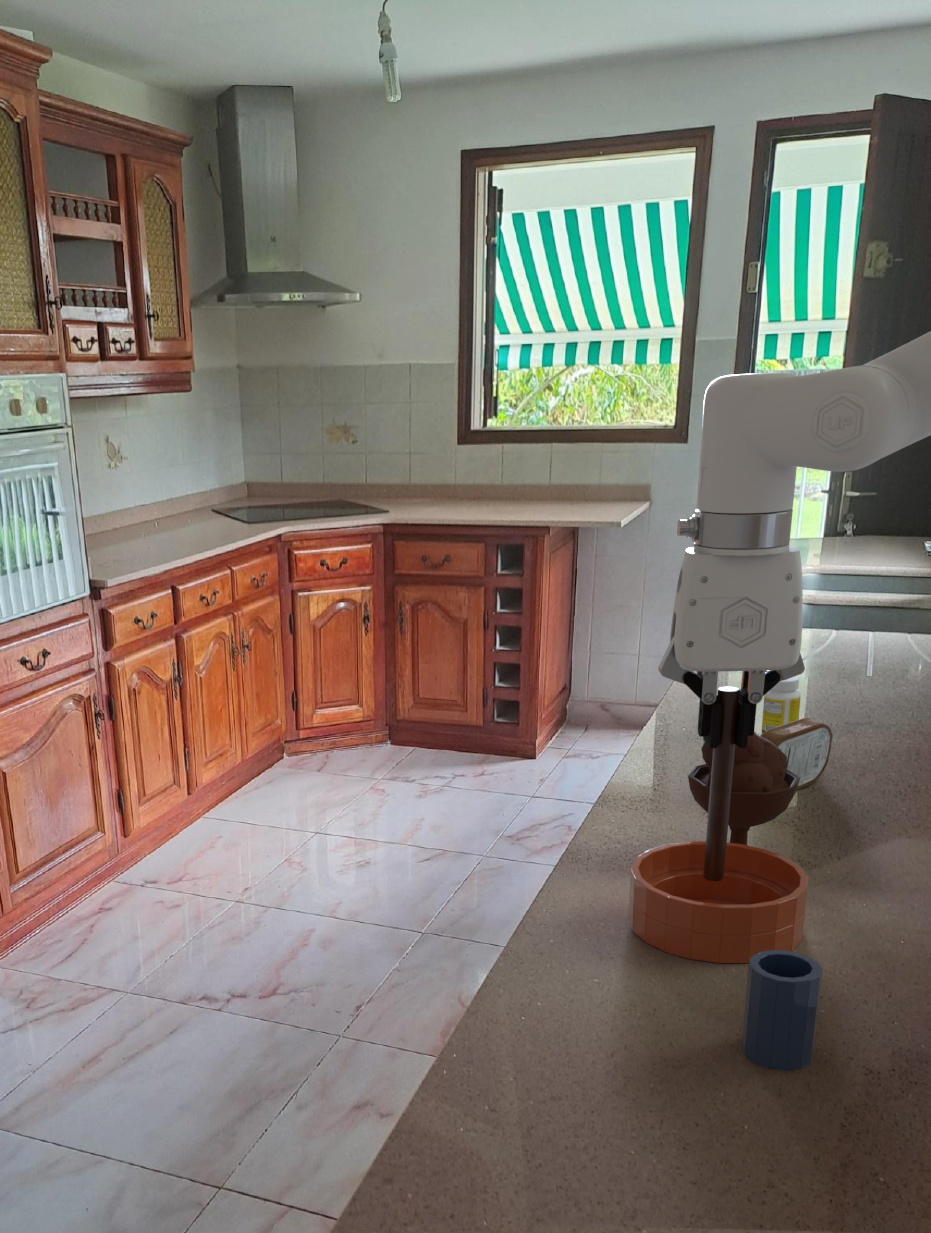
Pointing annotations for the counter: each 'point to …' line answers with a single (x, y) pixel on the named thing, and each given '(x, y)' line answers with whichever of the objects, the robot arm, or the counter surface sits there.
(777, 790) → the ice cream bowl
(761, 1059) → the utensil pot
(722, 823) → the stirring stick
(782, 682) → the supplement bottle
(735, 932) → the mixing bowl
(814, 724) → the tin
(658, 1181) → the counter surface
